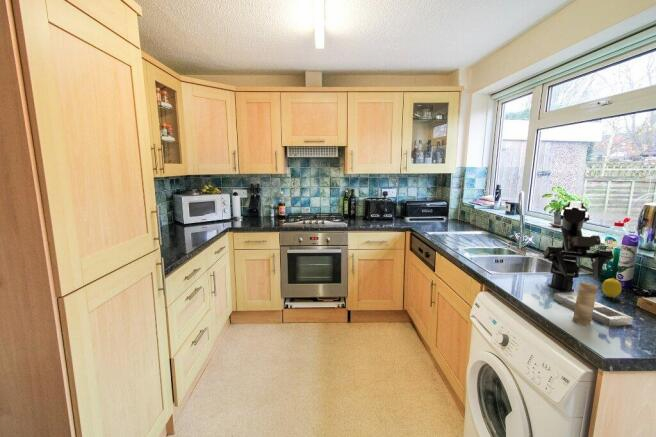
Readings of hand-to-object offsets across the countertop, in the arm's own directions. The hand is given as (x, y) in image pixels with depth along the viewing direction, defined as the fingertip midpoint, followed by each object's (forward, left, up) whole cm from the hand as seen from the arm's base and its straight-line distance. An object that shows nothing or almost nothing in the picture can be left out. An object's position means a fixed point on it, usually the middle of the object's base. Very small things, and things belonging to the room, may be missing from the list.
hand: (581, 277), depth 101 cm
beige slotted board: (0, +7, -13) cm, 15 cm away
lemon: (-9, +28, -13) cm, 32 cm away
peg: (+6, -4, -13) cm, 15 cm away
